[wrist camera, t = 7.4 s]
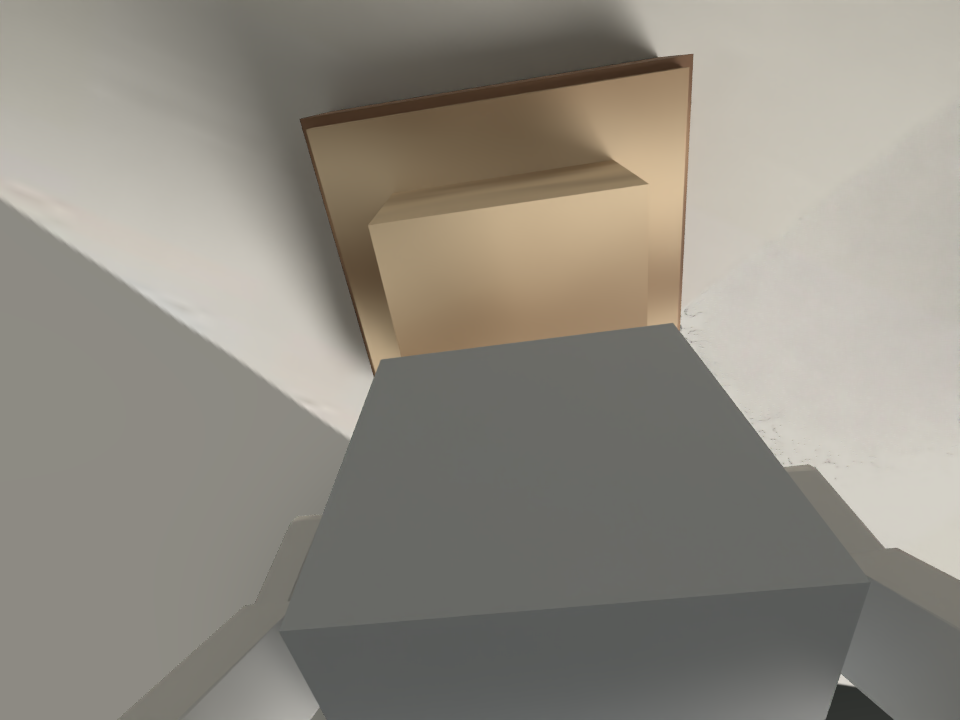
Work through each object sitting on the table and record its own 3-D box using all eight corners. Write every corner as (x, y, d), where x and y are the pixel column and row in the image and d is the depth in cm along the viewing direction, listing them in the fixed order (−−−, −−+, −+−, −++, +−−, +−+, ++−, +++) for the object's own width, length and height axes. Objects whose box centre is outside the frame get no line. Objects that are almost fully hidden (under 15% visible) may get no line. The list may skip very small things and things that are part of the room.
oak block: (392, 193, 16) (367, 225, 13) (613, 159, 16) (649, 183, 12) (434, 377, 20) (423, 442, 16) (616, 355, 19) (645, 418, 16)
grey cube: (380, 359, 9) (279, 631, 5) (673, 322, 9) (870, 581, 4) (434, 555, 11) (401, 858, 7) (664, 533, 11) (785, 841, 7)
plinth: (329, 111, 19) (293, 120, 15) (659, 57, 18) (701, 52, 14) (400, 384, 25) (386, 435, 21) (652, 354, 24) (681, 402, 20)
